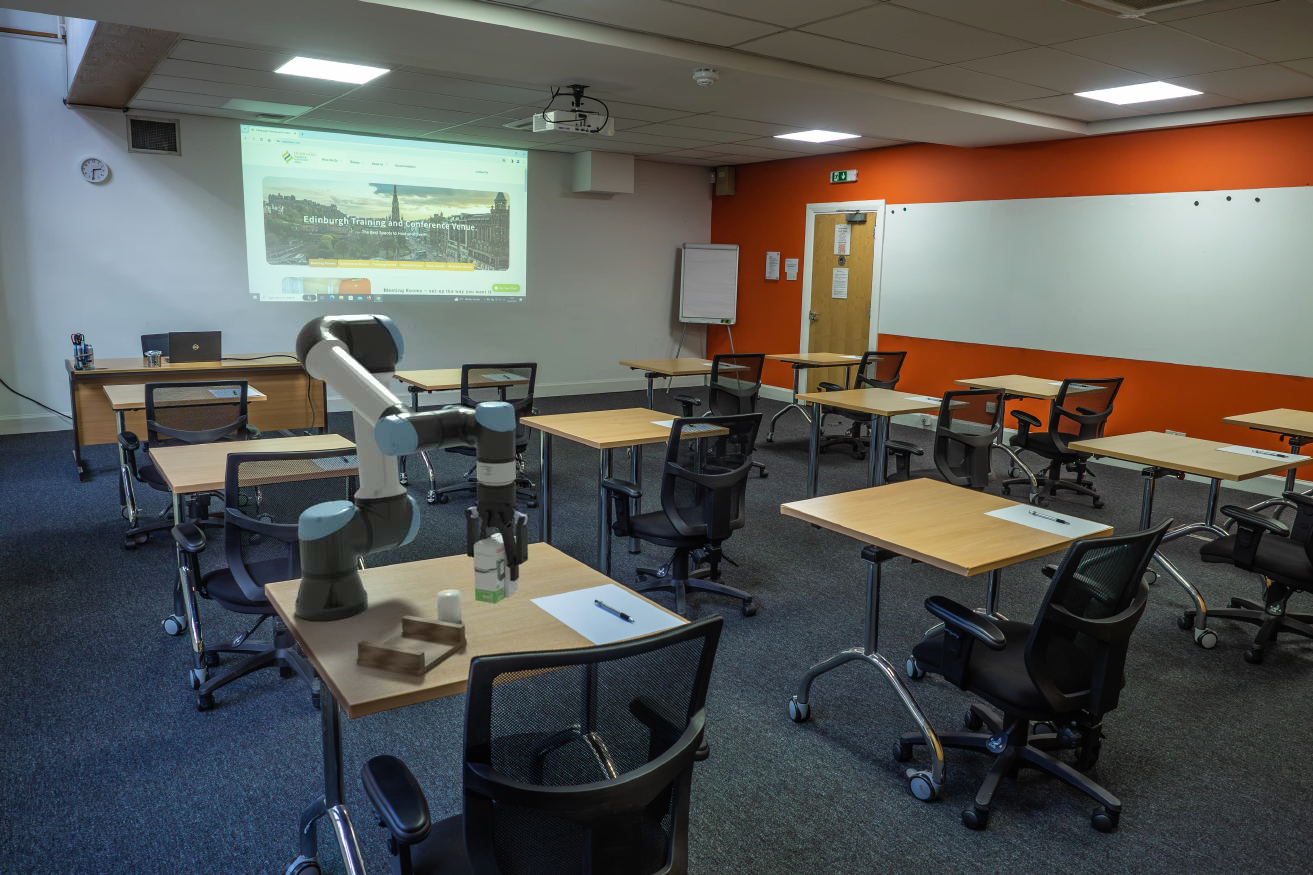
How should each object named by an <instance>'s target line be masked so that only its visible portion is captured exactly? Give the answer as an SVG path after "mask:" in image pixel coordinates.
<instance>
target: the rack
mask: <svg viewBox="0 0 1313 875" xmlns="http://www.w3.org/2000/svg"><path fill="white" fill-rule="evenodd" d="M401 628H402V631H401V632H399V633H397V634H396V635H395V636H393V637H391V638H390V639H387V640H386V641H384V642H383V643H378V642H373V641H368V640H361V641H359V642H357V654H358V656H357V658H356V665H359V666H363V667H370V668H374V669H379V670H385V671H389V672H394V673H400V674H403V675H404V674H405V675H409V676H415V677H420V676H422V675H423V674H424V673H426V672H427V671H429V670H431V669H432V668H434V666H436V665H437V664H439V663H441V661H443V660H444V659H446V658H447V657H448V656H450V655H452V654H453V653H454V652H455V651H457V650H459V649H460V648H461V647H464V645H466V644H467V643H468V642H467V641H468V640H467V637H466V628H465V624H460V623H449V622H443V621H438V619H437V620H436V619H430V618H425V617H419V616H412V615H408V614H407V615H404V616H402V617H401Z"/></svg>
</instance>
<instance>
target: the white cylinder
mask: <svg viewBox="0 0 1313 875" xmlns="http://www.w3.org/2000/svg"><path fill="white" fill-rule="evenodd" d="M436 604H437V606H436V607H437V608H436V609H437V621H443V622H449V623H455V624H459V623H460V622H461V621H462V618H463V617H462V591H460V590H458V589H444V590H440V591H438V592H437V593H436Z"/></svg>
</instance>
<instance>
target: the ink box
mask: <svg viewBox="0 0 1313 875" xmlns="http://www.w3.org/2000/svg"><path fill="white" fill-rule="evenodd" d="M514 538H515V542H516V535H514ZM473 564H474V565H473V566H474V568H473V569H474V590H475V591H474V594H475V601H476V602H477V601H478V602H483V603H490V604H494V605H495V604H498V603H499V602H501V601H502V600H504V599H505V598H506V596H505V566H506V565H508V564H509V563H508V559H507V555H506V551H505V547H504V543H503V539H502V535H501V534H500V532H497V533H494V534H491V536H490V537H488V538H486V539H482V540H480V541H478V542H476V543H475V544H474V558H473ZM517 591H519V579H518V580H516V592H517Z"/></svg>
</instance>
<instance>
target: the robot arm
mask: <svg viewBox="0 0 1313 875" xmlns="http://www.w3.org/2000/svg"><path fill="white" fill-rule="evenodd" d="M404 353H405V344H404V338H403V335H402V332H401V329H400V328H399V326H398V325H397V324H395V322H394V321H393V319H391V318H390V317H389V316H386V315H384V314H383V315H381V314H380V315H379V314H369V313H367V314H349V315H348V314H344V315H342V314H341V315H330V314H329V315H321V316H318V317H315V318H313V319H311V320H310V321H309V322H307V323H306V324H305V325H304V326H303V327H302V328H301V329H300V331H299V332H298V335H297V338H296V341H295V354H296V357H297V360H298V362H299V364H300V365H301V366H302V368H303V369H304V370H305V372H307V374H309V375H310V376H311V377H312V378H314V379H316V380H320V381H323V382H325V383H326V385H328V386H329V387H330V388H331V389H332V390H333V391H334V392H335V393H336V394H337V395H339V396H340V397H341V398H342V399H343V400H344V402H346V403H347V404H348V405H349V406H350V407H351V408H352V418H353V427H354V438H355V448H356V456H357V465H358V466H357V467H358V477H359V484H360V485H359V488H358V490H356V492H355V494H354V495H353V496H354V503H353V502H352V501H349V500H340V499H339V500H335V501H331V500H330V501H326V502H325V501H324V502H321V503H318V504H315V505H312V506H310V507H308V508H307V509H305V510H304V511H303V512H302V513H301V514H300V515H299V518H298V531H297V536H298V540H299V542H298V544H299V553H300V554H299V555H300V556H299V557H300V567H301V580H300V584H299V587H298V591H297V597H296V599H295V603H294V606H295V607H294V608H295V614H296V617H299V618H301V619H303V620H308V621H318V622H319V621H322V622H323V621H334V620H340V619H344V618H348V617H349V618H350V617H351V616H355V615H357V614H359V613H361V612H363V611H364V610H365V609H367V607H368V605H369V600H368V598H369V597H368V595H369V594H368V592H367V590H366V589H365V587H364V585H363V582H362V581H363V580H362V579H361V576H360V574H359V567H358V566H359V565H358V558H359V557H364V556H368V555H371V554H375V553H379V552H384V551H387V550H395V549H397V548H399V547H401V546H405V545H407V544H409V543H411V542H413V540H414V539H415V537H416V536H417V535H418V532H419V529H420V525H421V512H420V508H419V506H418V505H417V501H416V499H415V498H414V497H413V496H411V495H409V494H408V491H407V488H405V487H404V486H403V485H402V484H401V483H400V476H399V467H398V466H399V465H398V457H397V456H407V455H411V454H416V453H422V452H427V451H434V450H440V449H441V450H442V449H446V448H453V447H459V446H460V447H461V446H465V447H469V448H475V449H476V455H475V456H476V458H475V459H476V479H477V484H476V498H477V505H476V506H471V507H469V508H466V509H465V510H464V515H465V519H466V555H467V557H468V558H472V559H474V544H475V543H476V542H478V541H480V540H482V539H486V538H488V537H490V536H491V535H493V534H492V533H493V530H494V528H495V529H498V533H500V534H501V535H502V539H503V543H504V547H505V551H506V555H507V559H508V563H509V564H508V565H506V566H505V596H506V598H508V599H510V598H511V597H513V596H514V595H515V594H516V592H517V591H516V580H518V581H519V579H520V565H522V564H524V563H526V562H527V561H528V560H529V552H528V551H529V550H528V549H529V547H528V546H529V543H528V542H529V541H528V539H529V538H528V524H529V521H530V517H531V516H530V514H529V513H525V514H524V513H522V512H520V511H519V510H518V508H517V506H516V499H517V492H516V491H517V486H516V485H517V484H516V482H515V480H516V479H517V475H516V474H517V470H516V469H517V468H516V466H517V465H516V428H517V423H516V415H515V414H516V413H515V412H516V411H515V407H514V405H513V404H511V403H509V402H506V401H484V402H480V403H478V404H476V407H475V408H470V407H466V406H464V405H459V404H458V405H452V404H450V405H445V406H443V407H442V408H441V409H440V410H439V409H438V410H429V411H422V412H416V411H415V410H413V409H412V407H410V406H409V405H408V404H406V402H404V401H403V400H402V399H401V398H400V397H399V396H397V395H396V394H395V393H394V392H393V391H392V390H391V386H390V385H391V384H390V381H391V379H392V377H393V376H395V374H396V366H397V365H398V364H399V363H400V362H401V361H402V360H403V356H404ZM479 517H480V518H481V520H482V521H481V525H480V524H479V522H480V521H479ZM513 519H515V520H514V523H515V535H514V524H513ZM479 525H480V526H479ZM479 529H480V531H479ZM479 532H480V534H479ZM514 536H516V542H515V538H514Z"/></svg>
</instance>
